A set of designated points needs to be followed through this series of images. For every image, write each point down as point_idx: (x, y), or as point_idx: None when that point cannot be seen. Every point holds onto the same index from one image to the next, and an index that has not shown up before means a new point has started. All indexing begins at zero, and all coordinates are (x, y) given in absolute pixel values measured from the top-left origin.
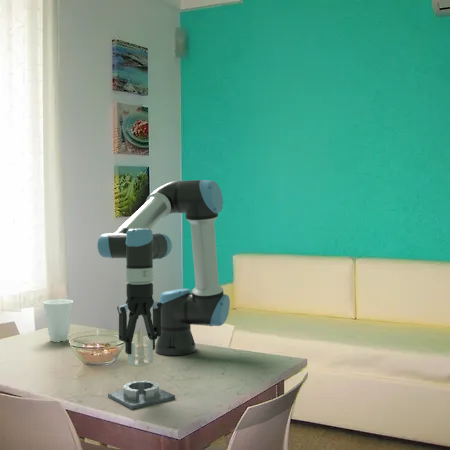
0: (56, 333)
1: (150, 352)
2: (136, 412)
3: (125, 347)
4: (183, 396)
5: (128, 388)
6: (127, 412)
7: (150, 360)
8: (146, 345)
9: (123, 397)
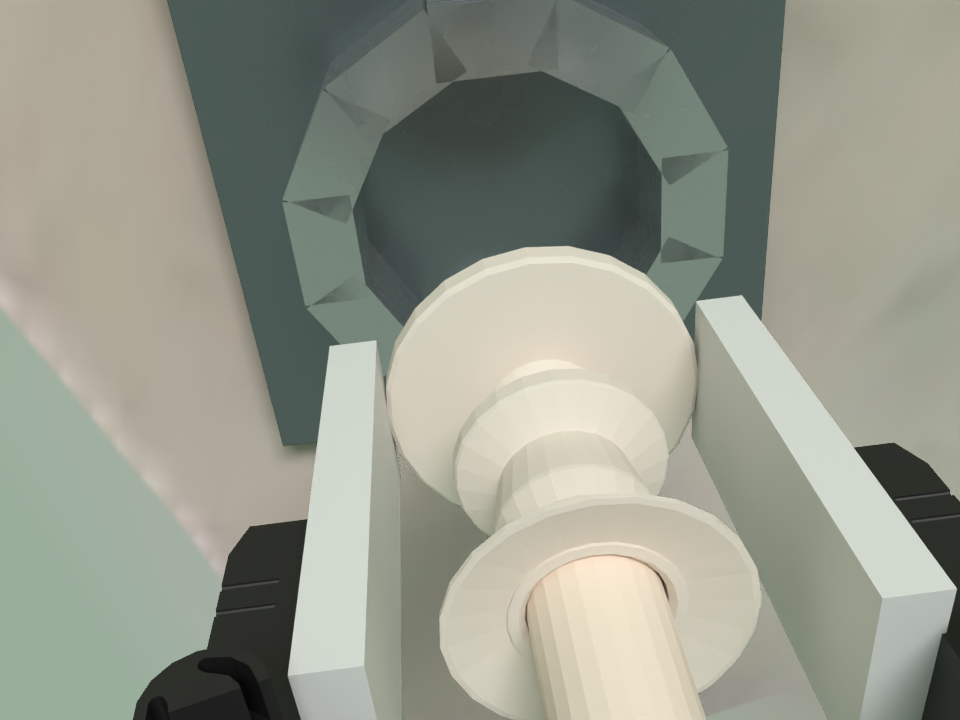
0: None
1: (747, 548)
2: (302, 494)
3: (212, 640)
4: (848, 346)
5: (334, 247)
6: (232, 462)
7: (702, 452)
8: (718, 659)
9: (286, 185)
